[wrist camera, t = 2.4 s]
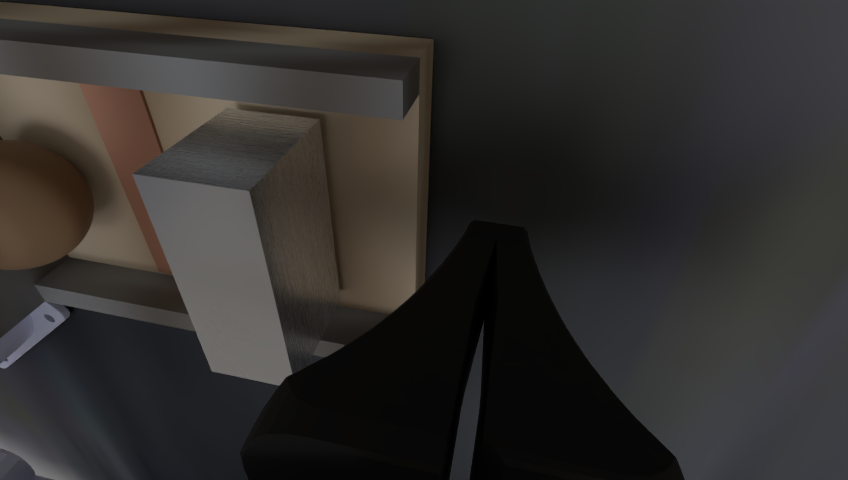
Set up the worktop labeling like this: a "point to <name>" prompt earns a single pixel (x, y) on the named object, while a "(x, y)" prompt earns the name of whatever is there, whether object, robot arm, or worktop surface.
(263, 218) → the grey rectangular block
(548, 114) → the worktop surface
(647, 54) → the worktop surface
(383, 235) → the wooden shadow box
